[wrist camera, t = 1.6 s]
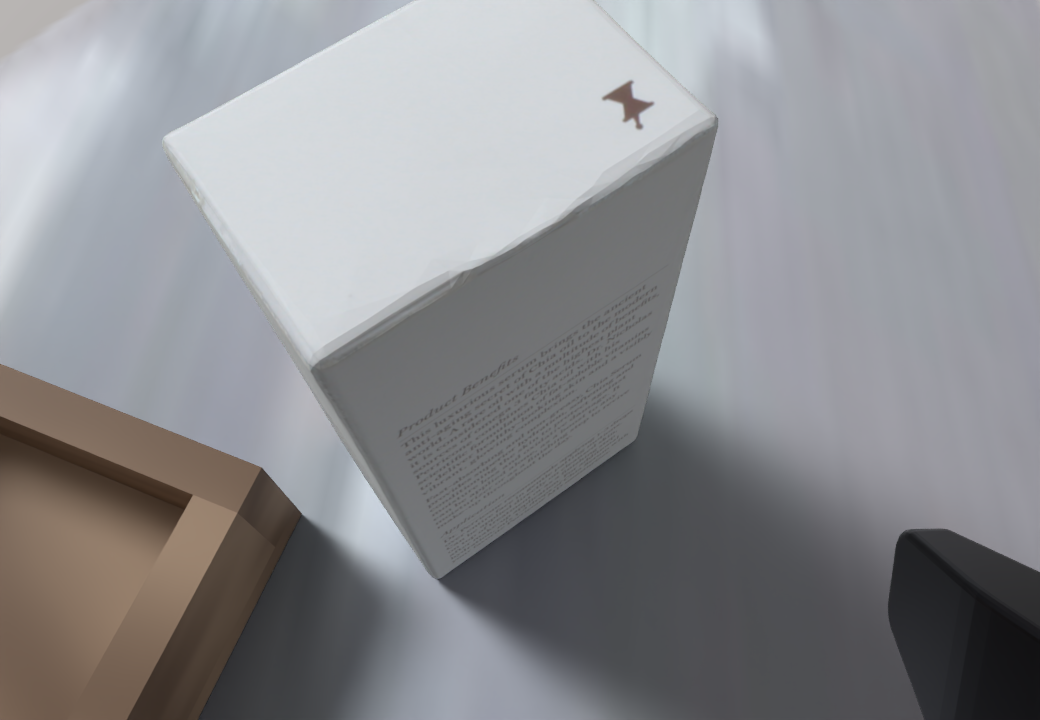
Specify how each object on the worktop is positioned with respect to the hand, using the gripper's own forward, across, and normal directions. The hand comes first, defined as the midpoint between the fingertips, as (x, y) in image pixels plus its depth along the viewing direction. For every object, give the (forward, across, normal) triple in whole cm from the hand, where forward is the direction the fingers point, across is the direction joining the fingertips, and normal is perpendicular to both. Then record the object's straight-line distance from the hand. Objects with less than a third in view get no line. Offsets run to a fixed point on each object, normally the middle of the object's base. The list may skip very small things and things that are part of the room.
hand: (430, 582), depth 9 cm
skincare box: (+13, 0, +5) cm, 14 cm away
